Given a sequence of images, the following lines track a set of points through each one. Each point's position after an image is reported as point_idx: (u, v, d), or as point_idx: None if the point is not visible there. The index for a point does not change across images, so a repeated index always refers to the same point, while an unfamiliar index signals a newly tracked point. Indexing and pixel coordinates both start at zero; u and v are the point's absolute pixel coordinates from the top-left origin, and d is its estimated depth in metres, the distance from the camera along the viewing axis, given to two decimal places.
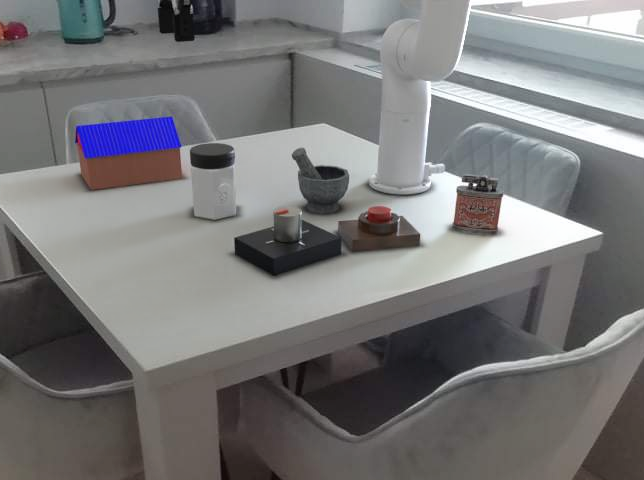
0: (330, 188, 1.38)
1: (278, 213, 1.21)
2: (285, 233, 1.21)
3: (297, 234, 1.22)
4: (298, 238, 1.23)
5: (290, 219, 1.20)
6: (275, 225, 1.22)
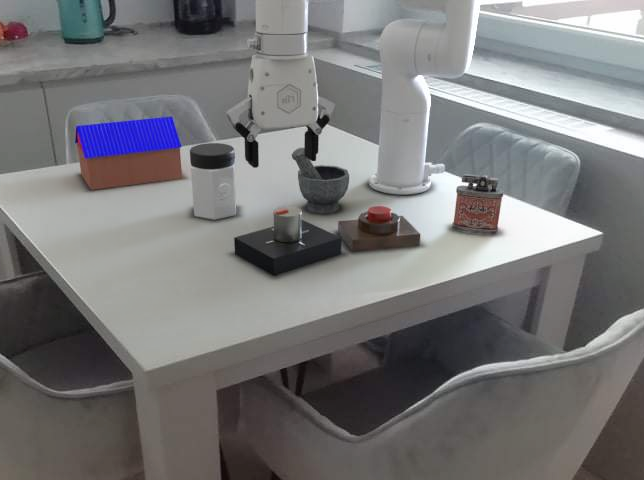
0: (330, 188, 1.38)
1: (278, 213, 1.21)
2: (285, 233, 1.21)
3: (297, 234, 1.22)
4: (298, 238, 1.23)
5: (290, 219, 1.20)
6: (275, 225, 1.22)
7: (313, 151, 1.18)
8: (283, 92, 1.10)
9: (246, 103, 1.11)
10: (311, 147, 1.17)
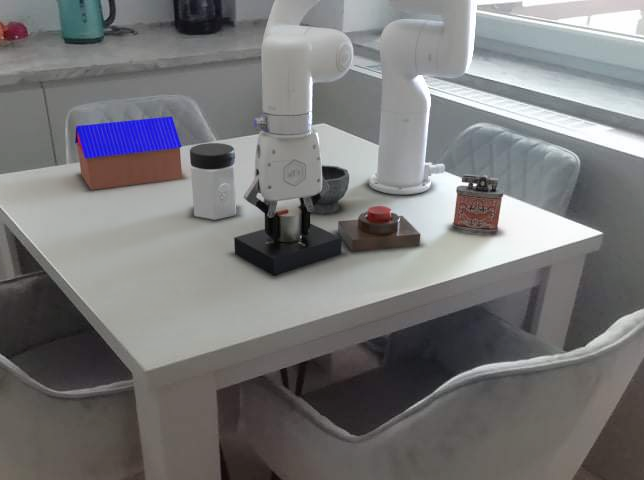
0: (330, 188, 1.38)
1: (278, 213, 1.21)
2: (285, 233, 1.21)
3: (297, 234, 1.22)
4: (298, 238, 1.23)
5: (290, 219, 1.20)
6: None
7: (305, 226, 1.23)
8: (289, 167, 1.15)
9: (257, 183, 1.17)
10: (304, 223, 1.23)
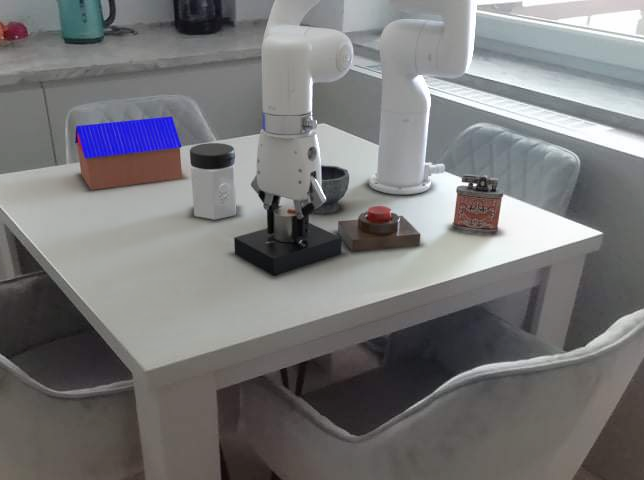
0: (330, 188, 1.38)
1: None
2: None
3: None
4: None
5: None
6: None
7: None
8: None
9: None
10: None
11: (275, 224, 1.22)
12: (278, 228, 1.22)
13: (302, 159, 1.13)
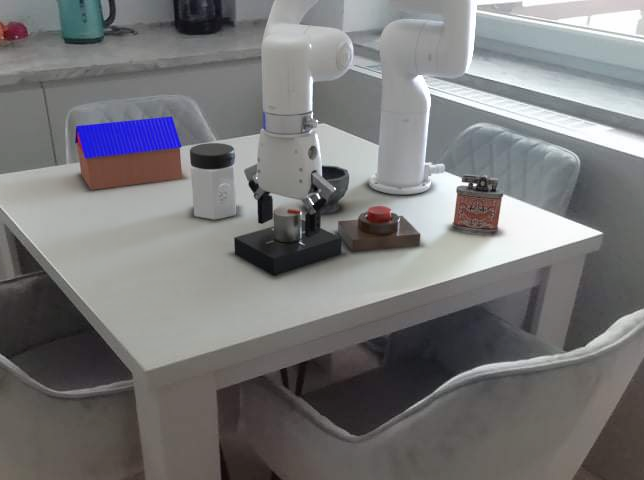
0: None
1: (300, 211, 1.21)
2: None
3: None
4: None
5: None
6: (299, 225, 1.22)
7: (271, 209, 1.26)
8: None
9: None
10: (272, 207, 1.26)
11: (275, 224, 1.22)
12: (278, 228, 1.22)
13: (303, 158, 1.13)
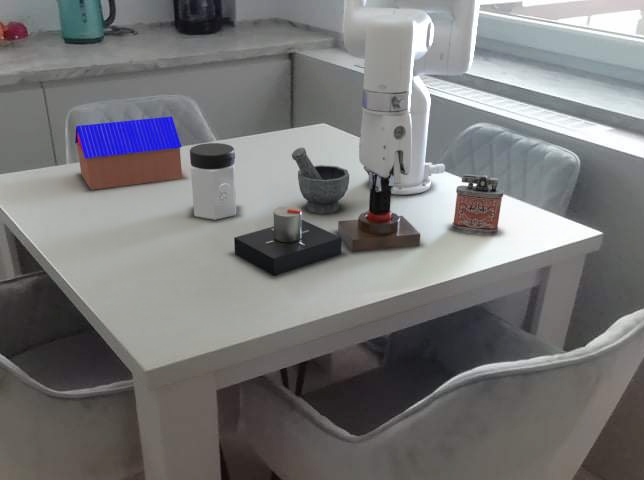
0: (330, 188, 1.38)
1: (300, 211, 1.21)
2: None
3: None
4: None
5: None
6: (299, 225, 1.22)
7: None
8: None
9: None
10: None
11: (275, 224, 1.22)
12: (278, 228, 1.22)
13: (387, 136, 1.17)
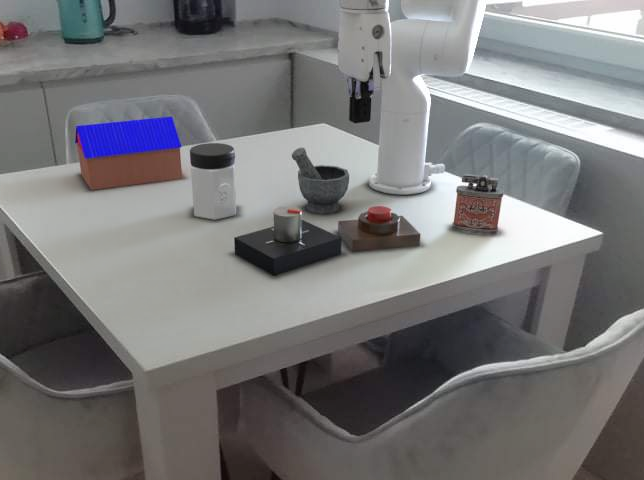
0: (330, 188, 1.38)
1: (300, 211, 1.21)
2: None
3: None
4: None
5: None
6: (299, 225, 1.22)
7: None
8: None
9: None
10: None
11: (275, 224, 1.22)
12: (278, 228, 1.22)
13: (365, 36, 1.14)
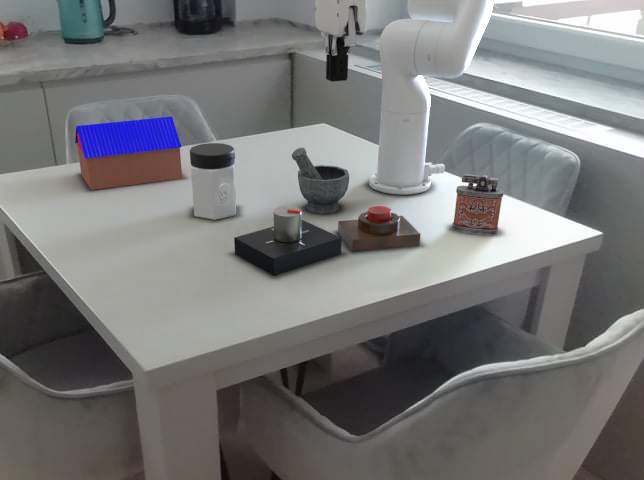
0: (330, 188, 1.38)
1: (300, 211, 1.21)
2: None
3: None
4: None
5: None
6: (299, 225, 1.22)
7: None
8: None
9: None
10: None
11: (275, 224, 1.22)
12: (278, 228, 1.22)
13: None
